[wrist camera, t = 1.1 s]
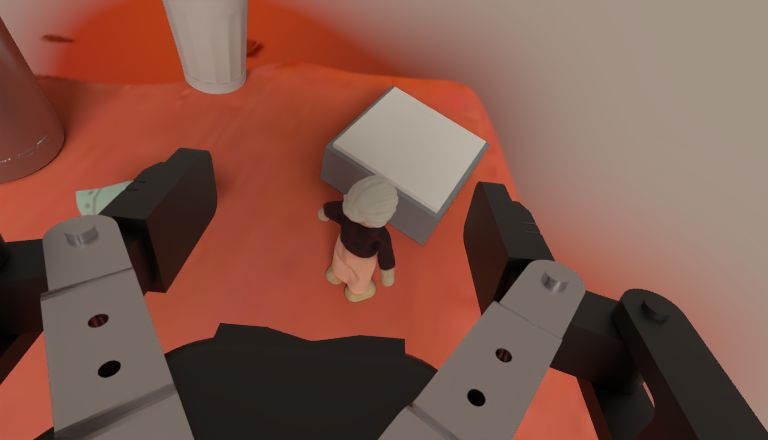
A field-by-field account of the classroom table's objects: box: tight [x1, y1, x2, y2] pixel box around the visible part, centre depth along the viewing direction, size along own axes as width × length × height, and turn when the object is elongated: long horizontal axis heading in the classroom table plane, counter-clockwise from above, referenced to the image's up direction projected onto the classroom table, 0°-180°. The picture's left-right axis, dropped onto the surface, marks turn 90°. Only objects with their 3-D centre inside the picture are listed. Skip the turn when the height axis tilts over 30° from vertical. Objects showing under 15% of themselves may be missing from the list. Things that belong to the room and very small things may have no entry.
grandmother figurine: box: [318, 175, 398, 302], centre depth 29 cm, size 8×4×13 cm, turn 57°
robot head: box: [76, 181, 134, 216], centre depth 29 cm, size 8×4×7 cm, turn 99°
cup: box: [162, 0, 248, 94], centre depth 39 cm, size 8×8×12 cm
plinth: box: [320, 86, 490, 246], centre depth 40 cm, size 12×12×5 cm
